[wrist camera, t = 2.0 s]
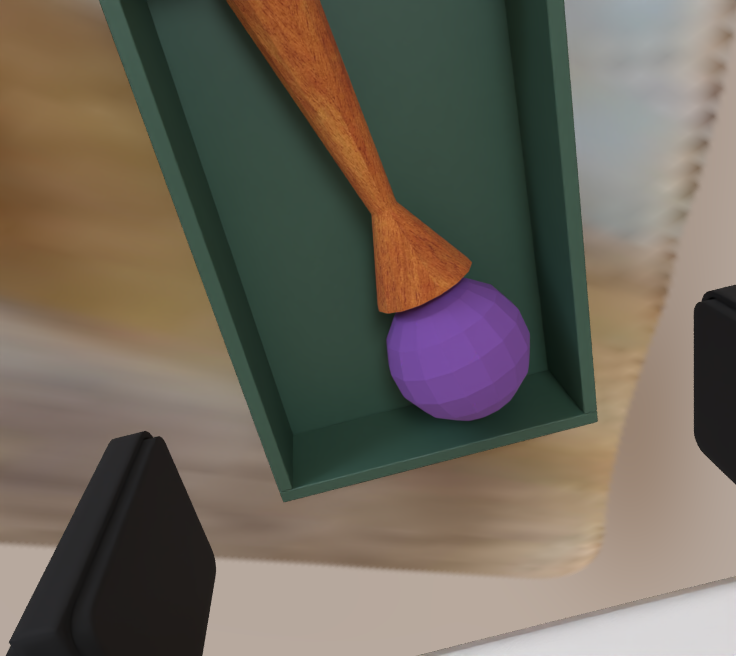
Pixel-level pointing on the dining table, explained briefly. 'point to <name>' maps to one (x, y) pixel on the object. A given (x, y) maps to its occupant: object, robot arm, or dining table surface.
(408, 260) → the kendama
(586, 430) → the dining table surface
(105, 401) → the dining table surface
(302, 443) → the tray
